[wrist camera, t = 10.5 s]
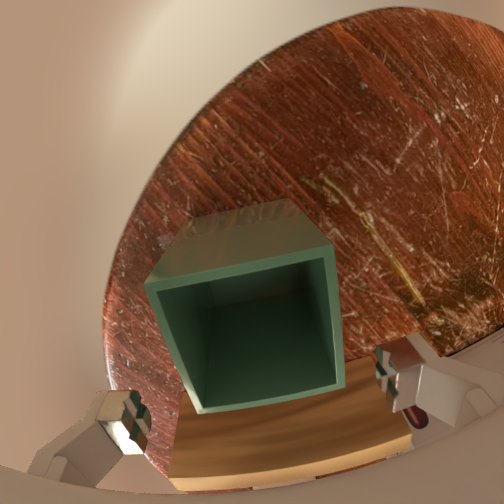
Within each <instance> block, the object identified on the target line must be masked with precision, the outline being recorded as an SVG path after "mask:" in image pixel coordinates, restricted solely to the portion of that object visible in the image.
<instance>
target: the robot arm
mask: <svg viewBox="0 0 504 504" xmlns="http://www.w3.org/2000/svg"><path fill="white" fill-rule="evenodd" d="M375 355H376V357H377V359H378V362H377V363H376V365H375V374H376V380H377V383H378V385H379V387H380V389H381V391H383V392H385V393H386V401H387V403H388V405H389V406H390V408H391V410H392V412H397V411H400V410H403V409H405V408H408V407H411V406H414V405H416V406H417V407H419V408H420V409H422V410H424V411H426V412H428V413H429V414H431V415H433V416H435V417H436V418H438V419H440V420H442V421H444V422H445V423H447V424H449V425H451V426H453V427H454V430H453V432H452V433H450V434H448V435H446V436H443V437H441V438H439V439H437V440H435V441H432V442H430V443H428V444H425V445H423V446H421V447H418V448H416V449H413V450H411V451H408V452H406V453H403V454H400V455H398V456H395V457H392V458H389V459H387V460H384V461H381V462H378V463H375V464H372V465H369V466H365V467H362V468H359V469H355V470H352V471H348V472H345V473H341V474H337V475H333V476H329V477H325V478H321V479H316V480H312V481H307V482H302V483H297V484H291V485H286V486H280V487H273V488H266V489H258V490H250V491H240V492H228V493H213V494H150V493H134V492H124V491H114V490H106V489H98V488H96V487H95V486H96V485H97V484H98V483H99V482H100V481H101V480H102V479H103V477H104V476H105V475H106V474H107V473H108V472H109V471H110V470H111V469H112V467H113V466H114V465H115V464H116V463H117V462H118V461H119V460H120V459H121V458H122V456H123V454H144V453H145V449H146V445H147V441H148V440H147V438H146V437H145V435H146V434H147V433H148V432H149V431H150V429H151V425H152V424H151V415H150V412H149V410H148V408H147V407H146V406H145V405H143V404H142V403H140V401H141V396H140V394H139V393H138V391H136V390H111V391H99V392H97V393H96V395H95V397H94V399H93V401H92V403H91V405H90V407H89V409H88V411H87V413H86V415H85V417H84V419H83V421H82V420H80V421H78V422H77V423H75V424H74V425H73V426H71V427H70V428H69V429H67V430H66V431H65V432H63V433H62V434H61V435H59V436H58V437H56V438H55V439H54V440H52V441H51V442H50V443H48V444H47V445H45V446H44V447H43V448H41V449H40V450H38V451H37V453H36V455H35V457H34V459H33V461H32V463H31V465H30V467H29V469H28V471H27V473H24V472H20V471H17V470H13V469H11V468H8V467H4V466H2V465H0V504H504V377H503V375H502V374H501V373H498V372H494V371H491V370H487V369H484V368H481V367H477V366H474V365H471V364H467V363H464V362H461V361H458V360H455V359H451V358H448V357H445V356H443V357H441V358H440V356H439V355H438V354H437V353H436V352H435V351H434V350H433V348H432V347H431V346H430V345H429V344H428V343H427V342H426V340H425V339H424V338H423V337H422V336H421V335H420V334H419V333H418V332H415V333H412V334H409V335H406V336H404V337H401V338H398V339H395V340H392V341H389V342H386V343H383V344H380V345H377V346H376V349H375Z"/></svg>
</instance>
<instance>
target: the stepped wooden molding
mask: <svg viewBox="0 0 504 504" xmlns="http://www.w3.org/2000/svg"><path fill="white" fill-rule="evenodd" d="M345 382H346V387H345V388H341V389H337V390H334V391H330V392H325V393H321V394H317V395H313V396H308V397H304V398H299V399H295V400H290V401H285V402H280V403H274V404H269V405H263V406H257V407H251V408H244V409H238V410H230V411H223V412H214V413H206V414H197V412H196V410H195V408H194V406H193V403H192V401H191V399H190V397H189V395H188V393H187V392H183V396H182V401H181V406H180V412H179V417H178V422H177V427H176V433H175V438H174V444H173V449H172V455H171V460H170V466H169V472H168V479H169V480H170V482H171V483H172V484H173V485H174V486H175V487H176V489H177V490H178V491H201V490H222V489H235V488H246V487H255V486H263V485H270V484H277V483H284V482H289V481H295V480H300V479H306V478H310V477H315V476H320V475H324V474H328V473H333V472H337V471H340V470H344V469H348V468H352V467H355V466H359V465H362V464H365V463H369V462H372V461H375V460H378V459H381V458H384V457H387V456H390V455H393V454H396V453H398V452H401V451H404V450H406V449H408V448H409V444H410V441H411V437H412V431H411V429H410V427H409V426H408V424H407V422H406V420H405V418H404V416H403V414H402V412H401V410H400V411H397V412H392V410H391V408H390V406H389V405H388V403H387V401H386V393H385V392H383V391H381V389H380V387H379V385H378V383H377V380H376V374H375V363H374V361H373V359H372V358H371V356H367V357H363V358H360V359H356V360H352V361H349V362H345Z"/></svg>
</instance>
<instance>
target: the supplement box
mask: <svg viewBox="0 0 504 504" xmlns="http://www.w3.org/2000/svg"><path fill="white" fill-rule="evenodd" d="M448 358H451V359H455V360H458V361H461V362H464V363H467V364H471V365H474V366H477V367H481V368H484V369H487V370H491V371H494V372H498V373H501V374H502V375H503V377H504V327H503V328H501V329H500V330H498V331H496V332H495V333H493V334H491V335H489V336H488V337H486V338H484V339H482V340H481V341H479V342H477V343H475V344H473V345H471V346H469V347H468V348H466V349H464V350H462V351H460V352H458V353H456V354H454V355H452V356H450V357H448ZM401 412H402V414H403V416H404V418H405V420H406V422H407V424H408V426H409V427H410V429H411V431H412V437H411V441H410V444H409V448H408V449H406V450H404V451H401V452H398V453H396V454H393V455H390V456H387V457H386V458H387V459H389V458H392V457H395V456H398V455H400V454H403V453H406V452H408V451H411V450H413V449H416V448H418V447H421V446H423V445H425V444H428V443H430V442H432V441H435V440H437V439H439V438H441V437H443V436H446V435H448V434H450V433H452V432H453V430H454V427H453V426H451V425H449V424H447V423H445V422H444V421H442V420H440V419H438V418H436V417H435V416H433V415H431V414H429V413H428V412H426V411H424V410H422V409H420V408H419V407H417V406H416V405H414V406H411V407H408V408H405V409H403V410H401Z"/></svg>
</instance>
